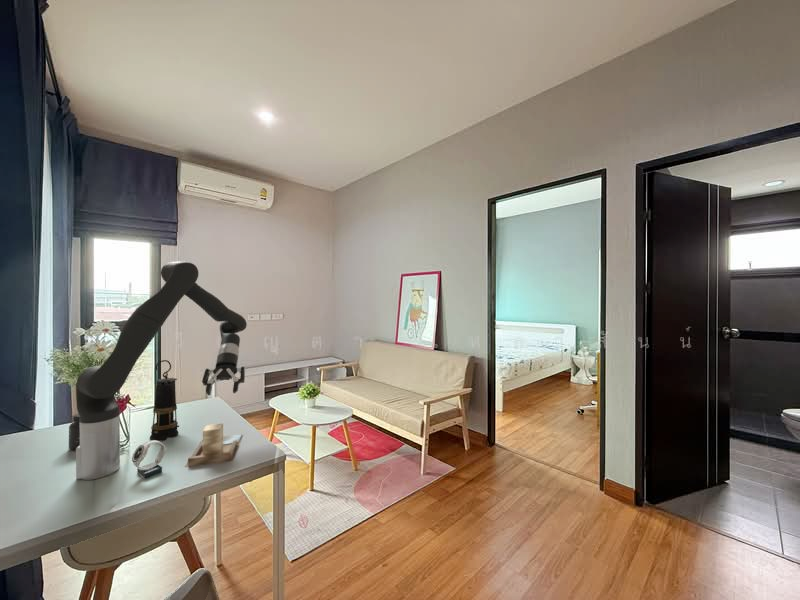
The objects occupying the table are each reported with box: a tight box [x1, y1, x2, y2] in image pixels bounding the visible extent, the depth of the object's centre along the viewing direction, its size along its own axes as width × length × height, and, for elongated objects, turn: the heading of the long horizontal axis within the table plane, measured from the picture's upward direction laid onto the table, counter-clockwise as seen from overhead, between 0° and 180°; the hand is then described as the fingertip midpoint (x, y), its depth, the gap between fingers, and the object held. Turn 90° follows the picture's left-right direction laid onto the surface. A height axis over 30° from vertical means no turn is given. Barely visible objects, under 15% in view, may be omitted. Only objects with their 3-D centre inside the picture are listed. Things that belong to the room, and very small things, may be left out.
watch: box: [131, 440, 167, 480], centre depth 98 cm, size 6×8×11 cm
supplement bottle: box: [68, 413, 80, 452], centre depth 117 cm, size 7×7×12 cm
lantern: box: [149, 359, 180, 442], centre depth 127 cm, size 9×9×30 cm
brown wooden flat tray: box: [184, 434, 244, 468], centre depth 114 cm, size 14×20×4 cm
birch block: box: [202, 422, 224, 455], centre depth 109 cm, size 5×5×10 cm
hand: (221, 393), depth 120 cm, fingers open, 8 cm apart
